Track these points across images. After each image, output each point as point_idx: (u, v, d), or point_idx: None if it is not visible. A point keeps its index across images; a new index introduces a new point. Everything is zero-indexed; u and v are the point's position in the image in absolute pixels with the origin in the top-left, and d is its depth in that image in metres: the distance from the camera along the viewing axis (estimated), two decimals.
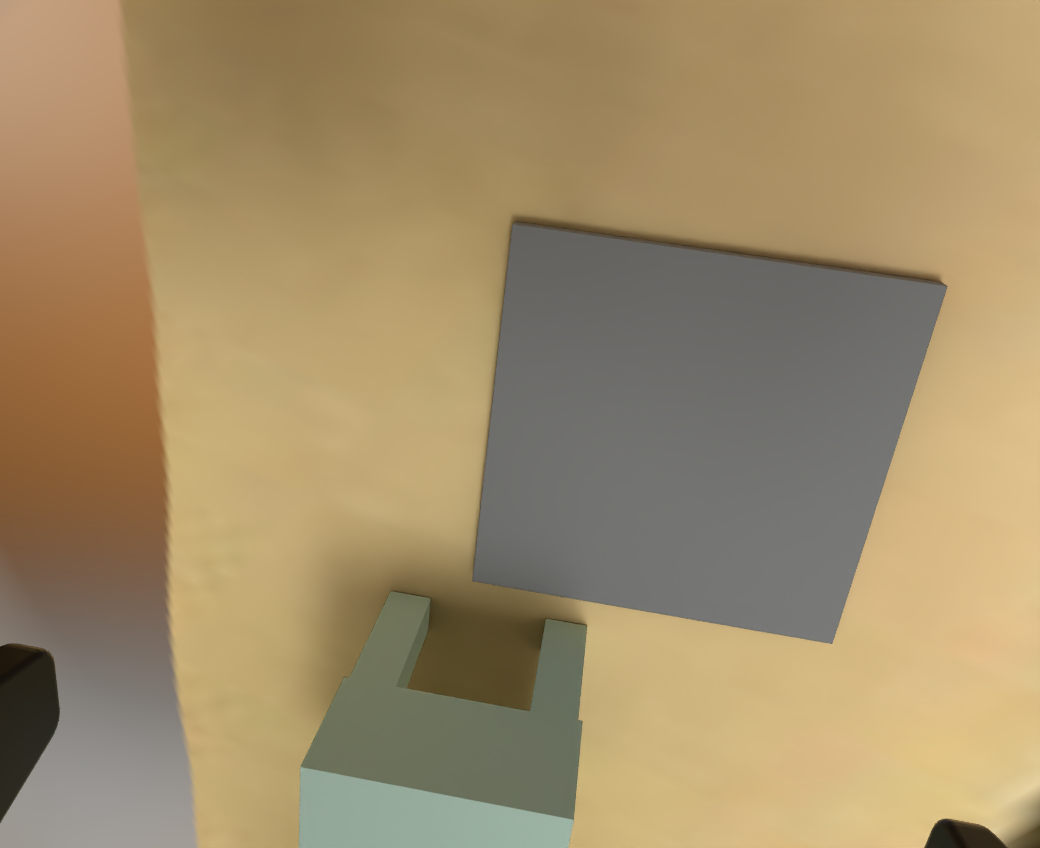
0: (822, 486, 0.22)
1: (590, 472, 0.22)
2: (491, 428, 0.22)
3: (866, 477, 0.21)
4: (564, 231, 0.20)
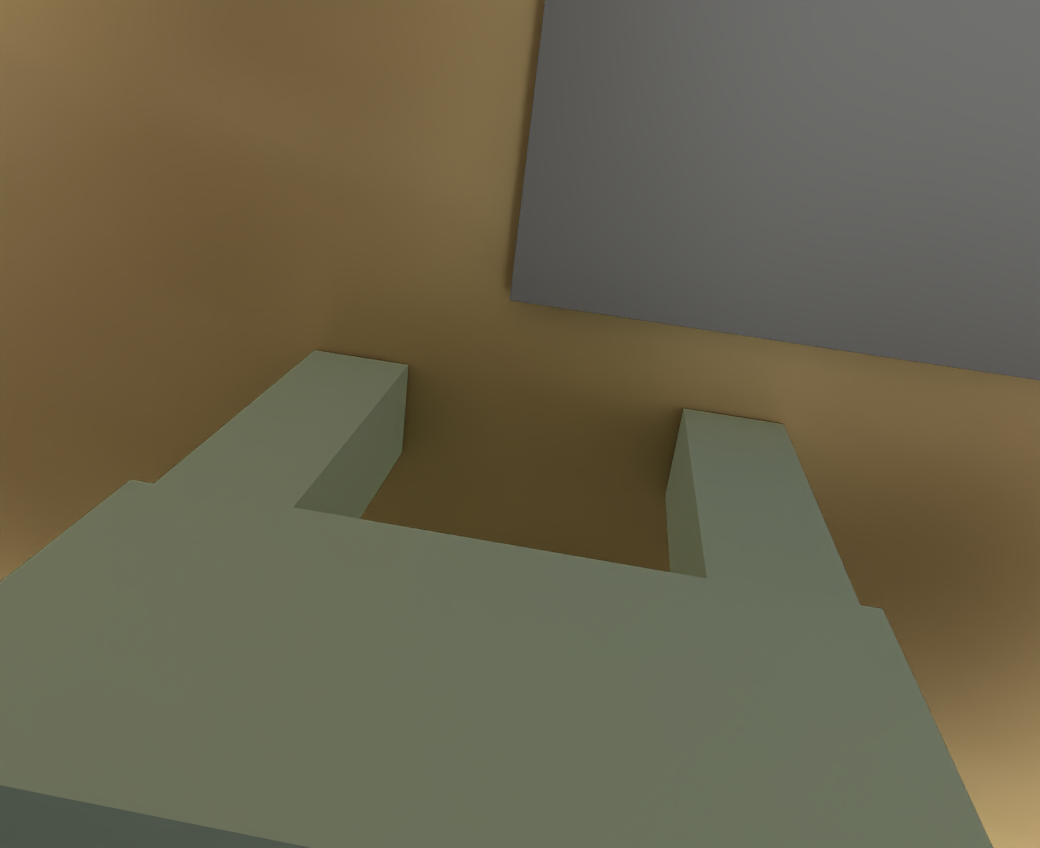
0: None
1: None
2: None
3: None
4: None
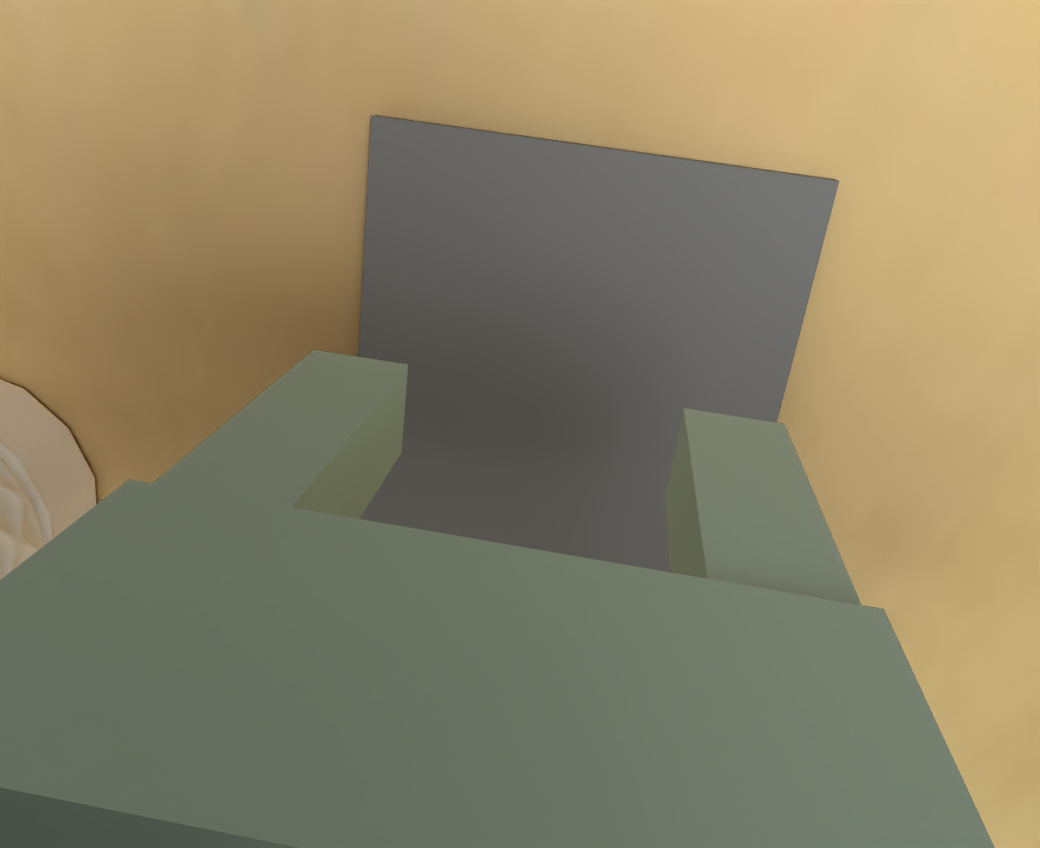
0: (608, 218, 0.19)
1: (596, 463, 0.21)
2: None
3: (595, 169, 0.18)
4: None
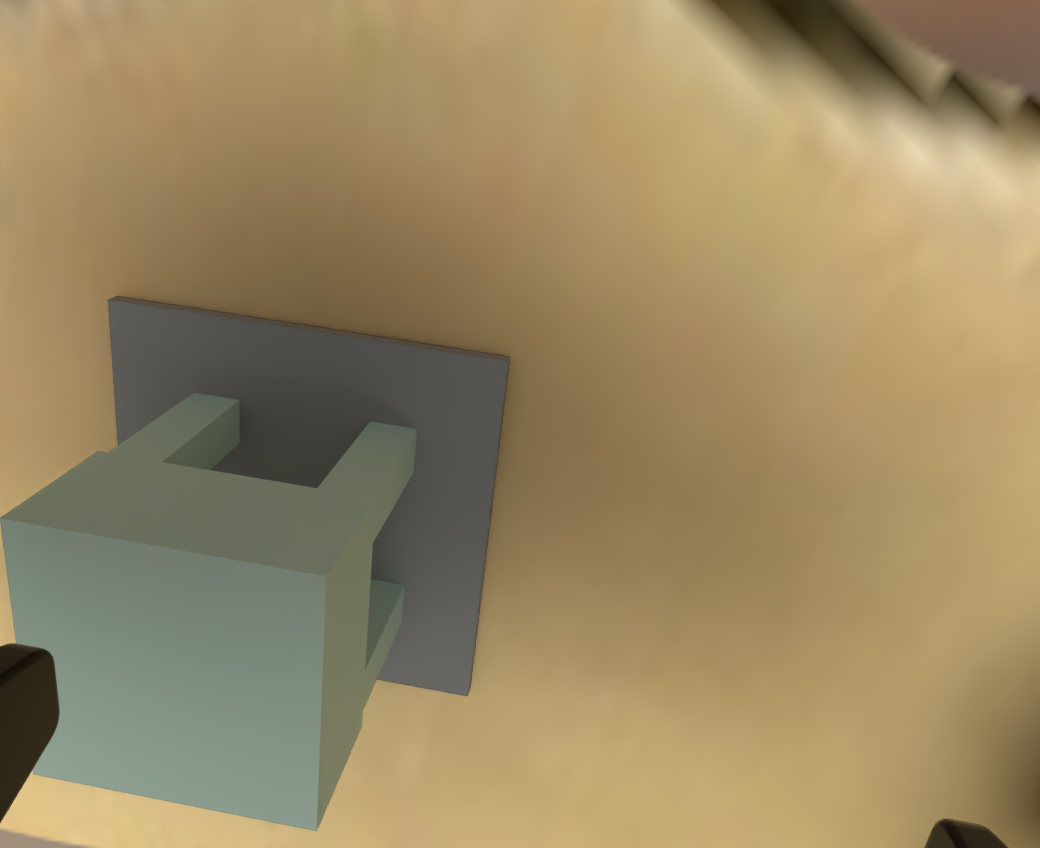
0: (318, 388, 0.21)
1: None
2: None
3: (302, 347, 0.21)
4: None
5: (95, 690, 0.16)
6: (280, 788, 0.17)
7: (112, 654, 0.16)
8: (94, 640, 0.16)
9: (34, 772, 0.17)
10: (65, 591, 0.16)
